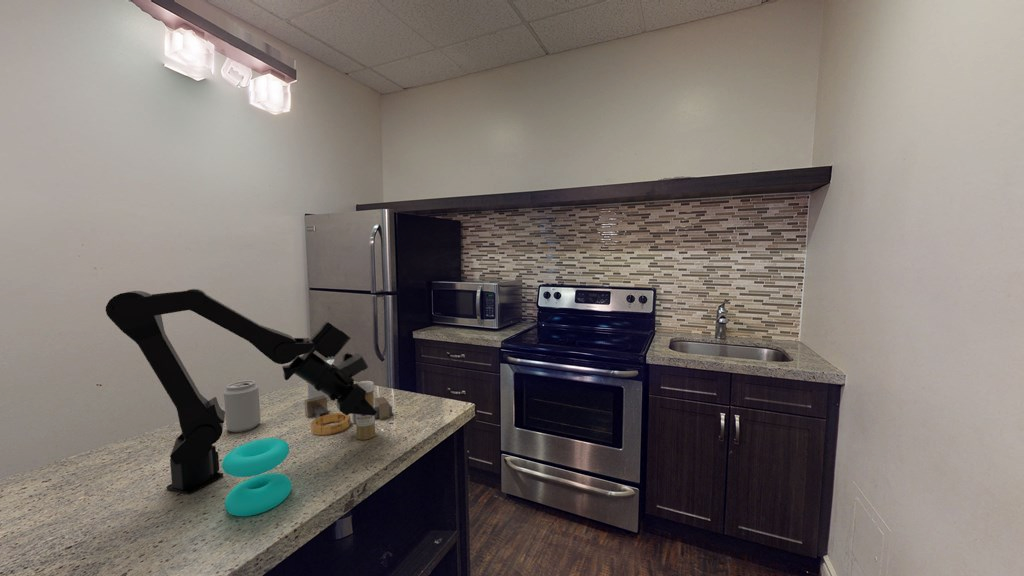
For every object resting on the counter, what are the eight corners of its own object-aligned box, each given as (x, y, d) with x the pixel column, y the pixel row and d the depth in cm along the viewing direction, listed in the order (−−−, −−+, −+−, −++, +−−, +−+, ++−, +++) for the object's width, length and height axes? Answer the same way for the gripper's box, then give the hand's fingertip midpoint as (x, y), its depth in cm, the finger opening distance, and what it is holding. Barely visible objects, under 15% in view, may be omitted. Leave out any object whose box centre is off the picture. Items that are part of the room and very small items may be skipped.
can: (267, 421, 104) (264, 378, 103) (245, 434, 96) (242, 388, 95) (242, 421, 104) (239, 378, 104) (218, 433, 97) (215, 387, 96)
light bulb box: (314, 392, 128) (312, 360, 127) (336, 389, 130) (334, 358, 129) (307, 403, 117) (305, 369, 117) (331, 400, 119) (329, 366, 119)
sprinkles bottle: (357, 442, 90) (354, 387, 90) (355, 434, 94) (352, 382, 94) (377, 437, 93) (375, 383, 92) (374, 430, 97) (372, 379, 96)
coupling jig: (354, 440, 92) (353, 422, 91) (275, 428, 99) (273, 412, 99) (396, 413, 108) (395, 397, 108) (325, 404, 115) (324, 390, 115)
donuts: (211, 452, 66) (272, 431, 75) (215, 507, 67) (276, 479, 75) (236, 468, 61) (299, 443, 69) (240, 528, 61) (302, 495, 70)
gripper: (354, 352, 82) (405, 391, 89) (336, 339, 97) (381, 373, 104) (315, 395, 78) (372, 433, 85) (303, 375, 93) (352, 408, 100)
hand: (370, 408), depth 94 cm, fingers open, 8 cm apart
